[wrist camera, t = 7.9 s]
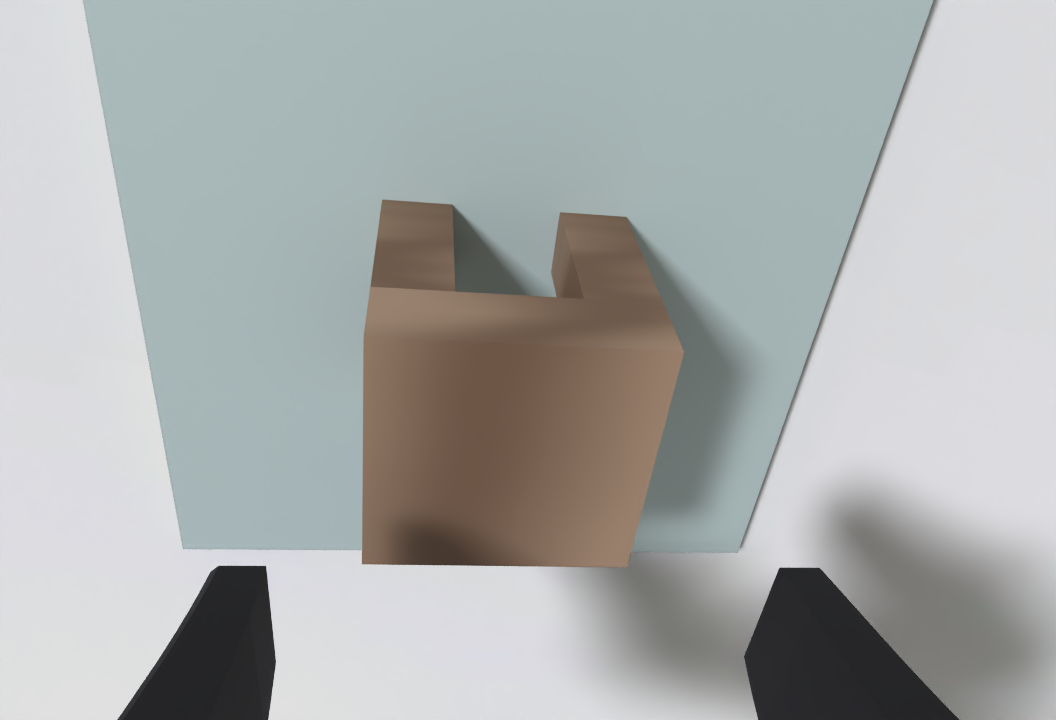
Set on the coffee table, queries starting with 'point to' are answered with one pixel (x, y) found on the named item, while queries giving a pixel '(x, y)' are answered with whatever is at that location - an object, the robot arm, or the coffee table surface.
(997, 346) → the coffee table surface
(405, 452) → the walnut stool
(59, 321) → the coffee table surface
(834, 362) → the coffee table surface
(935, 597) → the coffee table surface
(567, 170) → the sage board
